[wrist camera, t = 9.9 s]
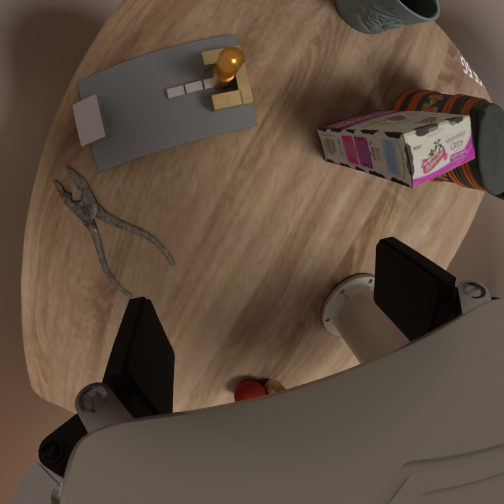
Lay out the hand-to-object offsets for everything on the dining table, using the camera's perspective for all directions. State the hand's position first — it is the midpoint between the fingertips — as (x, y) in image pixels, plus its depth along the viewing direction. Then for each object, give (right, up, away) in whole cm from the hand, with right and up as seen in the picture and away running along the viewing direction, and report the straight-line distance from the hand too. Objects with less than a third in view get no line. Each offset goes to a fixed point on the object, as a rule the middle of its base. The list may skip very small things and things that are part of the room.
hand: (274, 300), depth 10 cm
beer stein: (+28, +20, +24) cm, 42 cm away
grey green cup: (+15, +37, +14) cm, 42 cm away
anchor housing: (-18, +17, +14) cm, 28 cm away
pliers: (-21, +4, +21) cm, 30 cm away
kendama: (+3, -26, +40) cm, 48 cm away
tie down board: (-11, +19, +16) cm, 27 cm away
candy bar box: (+13, +18, +22) cm, 31 cm away
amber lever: (-7, +20, +15) cm, 26 cm away
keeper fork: (-4, +21, +15) cm, 26 cm away
